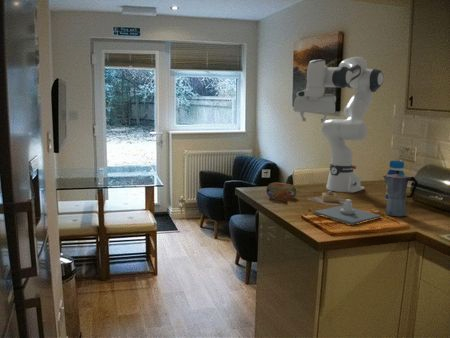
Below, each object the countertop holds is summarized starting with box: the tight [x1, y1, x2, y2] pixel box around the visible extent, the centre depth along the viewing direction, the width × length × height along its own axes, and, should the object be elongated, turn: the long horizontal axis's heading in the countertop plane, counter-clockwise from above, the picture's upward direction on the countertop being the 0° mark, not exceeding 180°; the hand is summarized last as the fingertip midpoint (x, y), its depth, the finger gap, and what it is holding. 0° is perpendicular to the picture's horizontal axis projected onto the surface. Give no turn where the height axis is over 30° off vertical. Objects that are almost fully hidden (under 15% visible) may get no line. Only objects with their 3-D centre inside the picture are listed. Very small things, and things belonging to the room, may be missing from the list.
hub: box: [313, 198, 382, 226], centre depth 191 cm, size 20×20×8 cm
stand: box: [307, 190, 354, 207], centre depth 214 cm, size 16×16×6 cm
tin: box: [266, 182, 297, 202], centre depth 219 cm, size 15×3×8 cm, turn 62°
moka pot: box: [382, 170, 419, 217], centre depth 195 cm, size 10×15×20 cm, turn 51°
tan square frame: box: [321, 192, 339, 202], centre depth 214 cm, size 7×7×3 cm
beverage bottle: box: [384, 160, 406, 201], centre depth 223 cm, size 8×8×20 cm
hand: (313, 121), depth 218 cm, fingers open, 8 cm apart
